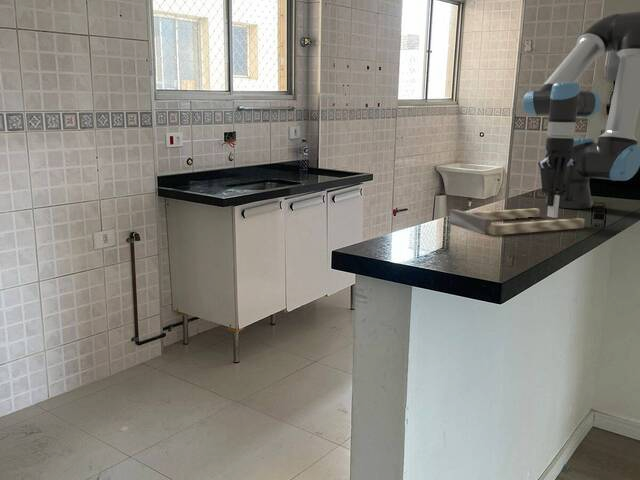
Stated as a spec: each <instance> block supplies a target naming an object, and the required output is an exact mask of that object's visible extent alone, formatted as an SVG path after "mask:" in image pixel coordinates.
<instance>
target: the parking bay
mask: <svg viewBox="0 0 640 480" xmlns="http://www.w3.org/2000/svg"><path fill="white" fill-rule="evenodd" d="M540 210H541V209H540V208H536V207H533V208H532V207H531V208H517V209H501V210H483V211H469V212H467V211H464V210H463V211H462V210H459V209H450V210H449V221H448V222H449V224H450V225H452V226H453V225H454V226H457V227H460V228H462V229H463V228H464V229H467V230H470V231H473V232H475V233H480V234H483V235H492V236H500V235H514V234H525V233H537V232H538V233H539V232H547V231H548V232H551V231H560V230H561V231H563V230H572V229H573V230H574V229H585V218H580V217H576V218H561V219H560V218H559V219H547V220H535V221H532V220H531V221H522V222H521V221H519V222H507V223H495V224H493V223H492V221H501V220H512V219H513V220H517V219H516V218H518V219H529V218H528V217H533V218H540Z"/></svg>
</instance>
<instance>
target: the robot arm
mask: <svg viewBox="0 0 640 480" xmlns="http://www.w3.org/2000/svg"><path fill="white" fill-rule="evenodd" d="M615 51H616V55H617V57H619V60H620V61H619V65H618V68H617V74H616V78H615V84H614V87H613V93H612V97H611V102H610V105H609V106H610V107H609V113H608V116H607V121H606V127H605V131H604V132H603V133H602V134H601V135H598V141H597V142H595V139H594V138H592V137H591V138H579V139H578V138H576V139H575V138H573V137H575V135H576V125H577V117H581V118H588V117H592V116H594V115H595V114H597V113H598V112H599V110H600V108H601V105H602V99H601V97H600V96H599V94H598V93H597V92H594V91H591V90H580V89H581V87H580V84H579V82H577V81H579V79H580V78H581V77H582V76H583V74H584V73H585V72H586V70H588V68H589V67H590V66H591V65H592V64H593V62H594V61H595V60H597V59H599V58H601V57H602V56H603V55H604V54H605V53H607V52H615ZM522 108H523V112H524V113H525V114H526V115H528V116H536V117H538V116H539V117H540V116H541V117H543V116H545V117H546V116H548V120H547V121H548V123H547V133H546V135H547V136H548V137H547V138H546V139H545V141H546V142H545V150H546V154H545V158H544V159H543V160H539V161H537V162H538V163H537V164H538V167H539V170H540V180H541V191H542V193H543V194H545V195H547V196H546V198H545V204H546V206H547V215H546V216H547V217H549V218H558V215H559V208H561V209H562V208H563V209H573V210H574V209H577V210H578V209H579V210H580V209H583V210H584V209H591V208H592V207H593V199H592V194H591V193H592V192H591V188H590V179H591V178H592V179H601V180H610V181H614V182H615V181H623V182H624V181H625V182H626V181H629V180H630V179H631V178H633V177H634V176H635V174H637V172H638V171H639V169H640V145H638V139H637V138H636V136H635V132H636V131H635V130H636V126H637V121H638V117H639V114H640V11H632V12H631V11H629V12H623V13H613V14H610V15H607V16H605V17H602V18H601V19H599V20H597V21H596V22H595V23H593V24H592V25H590V26H589V27H588V28H587V29H585V30H584V32H582V34H581V35H580V36H579V37H578V38H577V40H576V42H575V46H574V47H573V49H572V50H571V51H570V52H569V53H568V54H567V56H566V57H565V58H564V59H563V60H562V62H561V63H560V64H559V65H558V66H557V67H556V69H555V70H554V72H552V74H550V76H548V78H547V79H546V81H545V82H544V83H543V84H542V85H541V87H540V88H539V89H538V90H533V91H532V90H530V91H527V92H526V93H525V94H524V96H523V99H522Z"/></svg>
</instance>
